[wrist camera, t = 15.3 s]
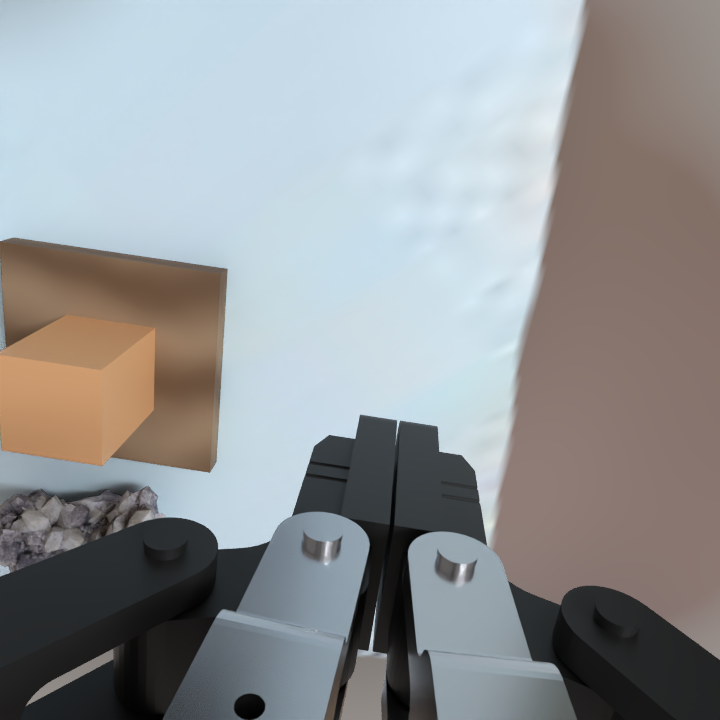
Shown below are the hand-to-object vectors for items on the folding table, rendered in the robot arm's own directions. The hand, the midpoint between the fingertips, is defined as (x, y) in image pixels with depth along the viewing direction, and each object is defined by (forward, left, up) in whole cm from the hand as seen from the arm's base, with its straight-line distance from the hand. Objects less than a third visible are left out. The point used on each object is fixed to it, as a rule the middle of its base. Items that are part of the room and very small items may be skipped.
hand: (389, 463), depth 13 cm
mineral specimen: (+24, -20, -29) cm, 43 cm away
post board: (+11, -18, -29) cm, 36 cm away
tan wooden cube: (+11, -18, -28) cm, 35 cm away
